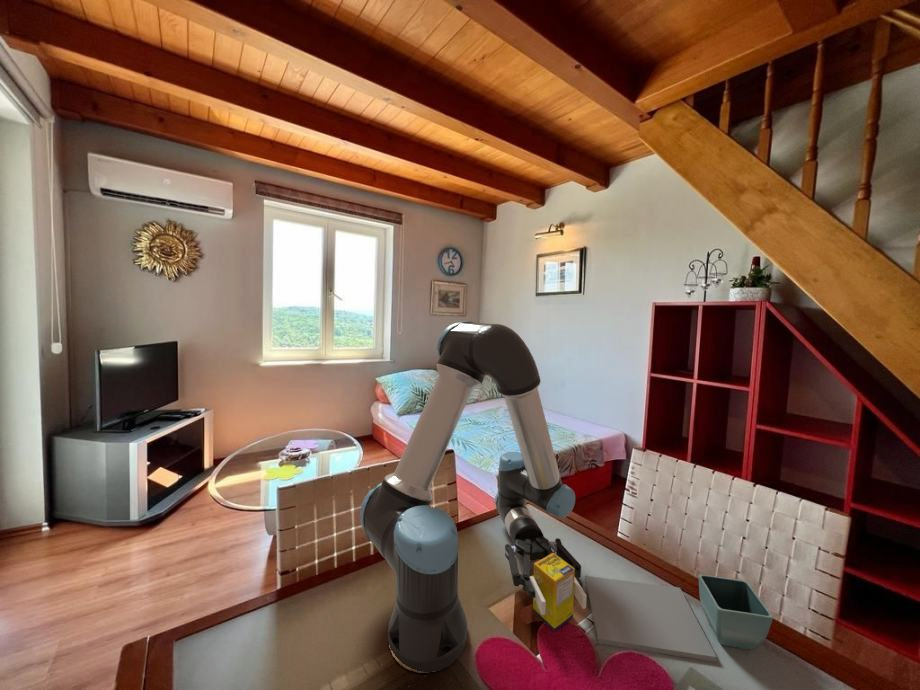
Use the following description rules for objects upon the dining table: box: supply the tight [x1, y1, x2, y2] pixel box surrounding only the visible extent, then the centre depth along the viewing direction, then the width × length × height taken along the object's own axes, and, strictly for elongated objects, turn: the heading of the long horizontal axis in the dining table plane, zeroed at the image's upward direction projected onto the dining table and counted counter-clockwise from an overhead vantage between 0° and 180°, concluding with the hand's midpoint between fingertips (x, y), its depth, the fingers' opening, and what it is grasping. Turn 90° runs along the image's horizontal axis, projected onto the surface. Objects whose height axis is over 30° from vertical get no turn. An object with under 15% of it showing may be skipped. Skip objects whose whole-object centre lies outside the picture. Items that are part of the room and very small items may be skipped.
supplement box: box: [532, 553, 575, 632], centre depth 74 cm, size 6×6×11 cm
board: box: [584, 575, 717, 663], centre depth 74 cm, size 20×16×1 cm
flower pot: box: [698, 574, 774, 650], centre depth 69 cm, size 9×9×9 cm
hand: (564, 605), depth 69 cm, fingers closed on supplement box, 8 cm apart
